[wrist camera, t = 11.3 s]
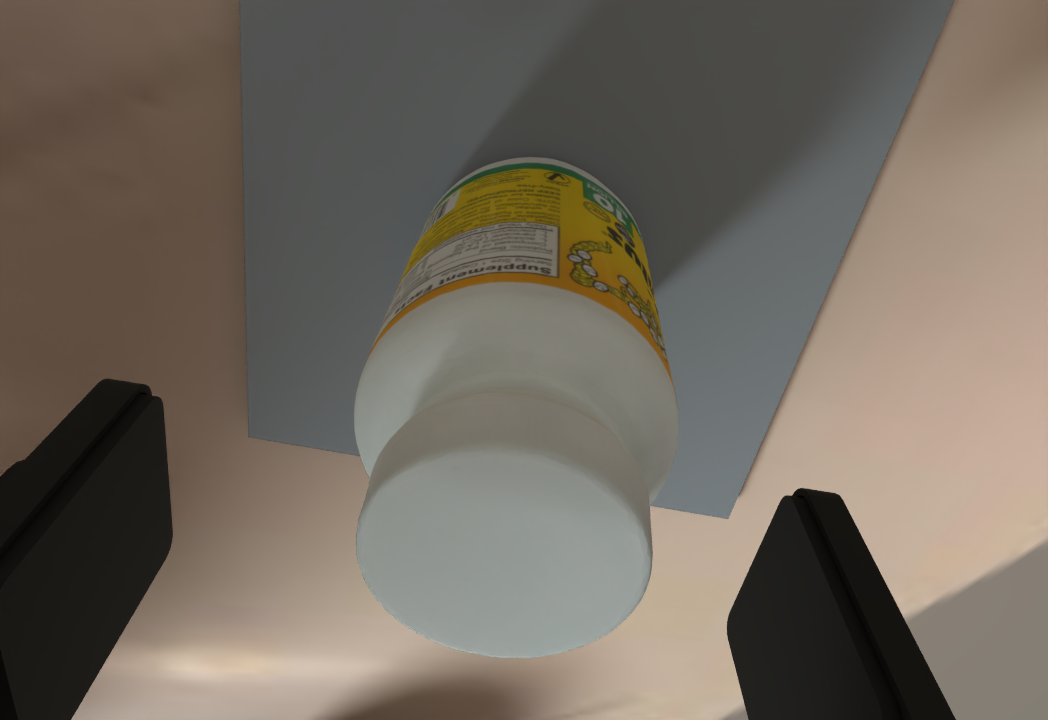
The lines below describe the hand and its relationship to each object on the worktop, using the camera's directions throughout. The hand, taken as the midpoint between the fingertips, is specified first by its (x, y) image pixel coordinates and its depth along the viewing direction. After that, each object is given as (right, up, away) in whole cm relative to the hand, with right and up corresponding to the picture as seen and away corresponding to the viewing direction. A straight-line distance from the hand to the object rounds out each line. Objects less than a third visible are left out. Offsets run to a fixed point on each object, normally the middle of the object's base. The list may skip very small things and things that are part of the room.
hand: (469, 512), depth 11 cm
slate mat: (+1, +5, +7) cm, 9 cm away
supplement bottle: (+1, +5, +7) cm, 8 cm away
